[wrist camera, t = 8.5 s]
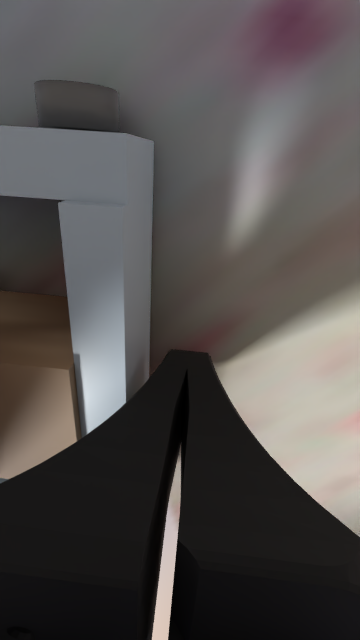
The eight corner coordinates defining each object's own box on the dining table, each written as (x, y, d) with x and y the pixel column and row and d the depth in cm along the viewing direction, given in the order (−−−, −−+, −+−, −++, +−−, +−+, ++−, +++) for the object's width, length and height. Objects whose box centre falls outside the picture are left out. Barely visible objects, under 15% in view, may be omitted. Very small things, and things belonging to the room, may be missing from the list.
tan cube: (116, 300, 11) (68, 370, 7) (119, 395, 13) (82, 488, 9) (0, 289, 11) (-101, 352, 8) (19, 384, 13) (-55, 471, 9)
